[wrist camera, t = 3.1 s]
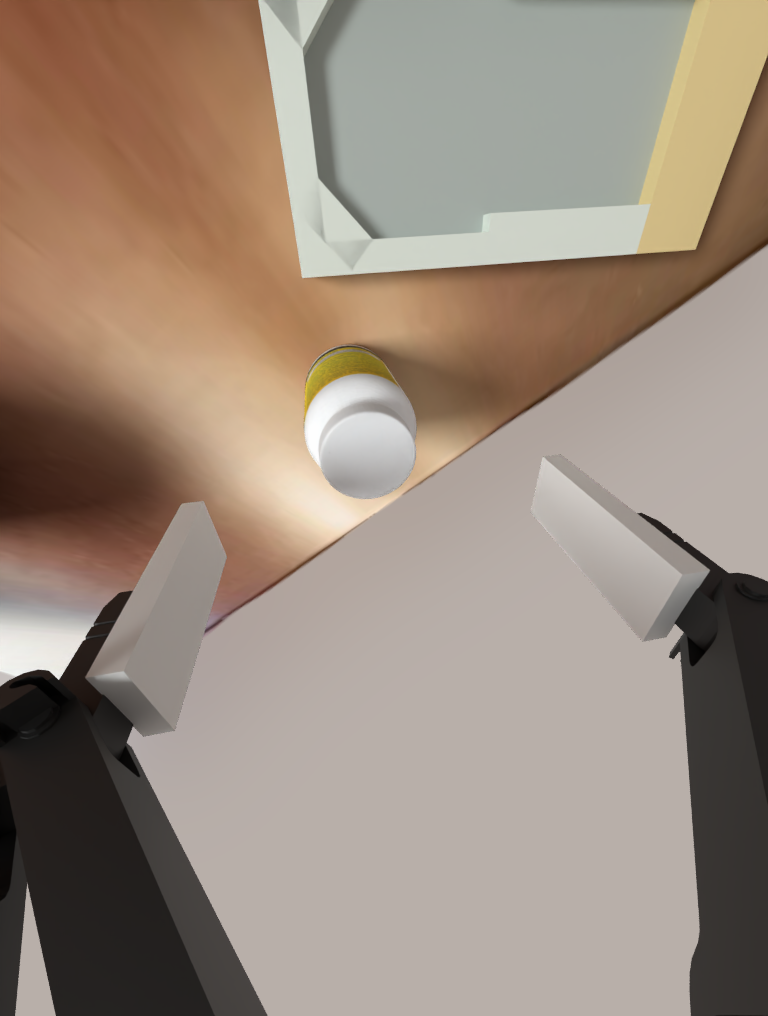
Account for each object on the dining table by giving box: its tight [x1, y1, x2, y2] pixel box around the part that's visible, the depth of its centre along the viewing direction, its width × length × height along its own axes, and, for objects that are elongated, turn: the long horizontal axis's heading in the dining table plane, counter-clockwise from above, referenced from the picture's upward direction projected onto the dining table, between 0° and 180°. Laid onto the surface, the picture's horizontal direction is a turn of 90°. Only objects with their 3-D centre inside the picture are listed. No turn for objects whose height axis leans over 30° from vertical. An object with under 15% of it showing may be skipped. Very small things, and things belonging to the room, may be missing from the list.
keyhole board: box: [258, 0, 768, 278], centre depth 18 cm, size 24×12×2 cm, turn 93°
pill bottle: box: [304, 345, 417, 499], centre depth 21 cm, size 6×6×11 cm
